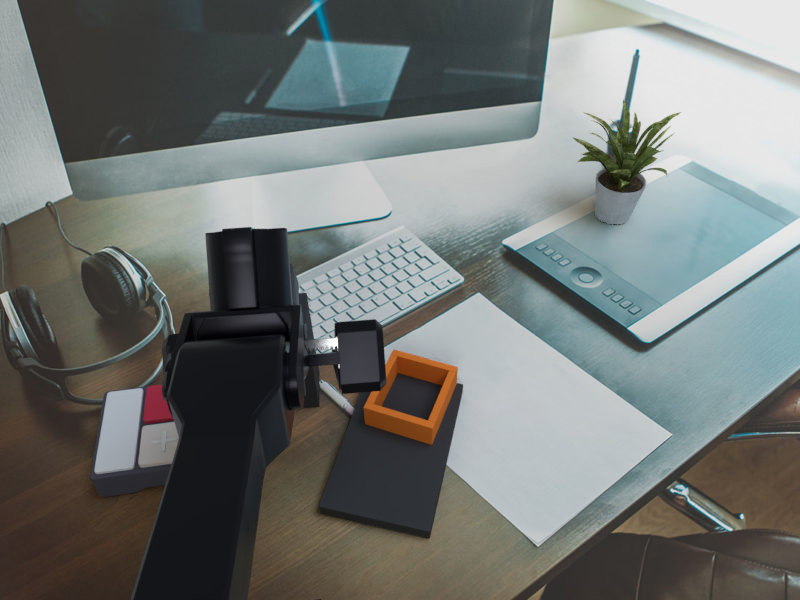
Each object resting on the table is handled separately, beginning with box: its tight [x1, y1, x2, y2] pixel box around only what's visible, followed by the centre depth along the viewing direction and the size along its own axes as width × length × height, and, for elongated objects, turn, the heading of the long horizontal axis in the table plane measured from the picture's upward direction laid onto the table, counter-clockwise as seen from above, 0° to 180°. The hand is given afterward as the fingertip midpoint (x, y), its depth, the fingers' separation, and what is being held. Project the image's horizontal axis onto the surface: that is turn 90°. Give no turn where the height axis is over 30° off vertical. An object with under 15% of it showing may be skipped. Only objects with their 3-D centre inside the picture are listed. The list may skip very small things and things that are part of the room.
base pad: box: [318, 349, 464, 539], centre depth 68 cm, size 19×11×4 cm, turn 166°
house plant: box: [572, 99, 682, 226], centre depth 93 cm, size 14×14×16 cm
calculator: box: [89, 384, 179, 498], centre depth 69 cm, size 11×4×15 cm
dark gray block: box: [299, 292, 320, 409], centre depth 70 cm, size 5×4×13 cm
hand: (288, 355), depth 65 cm, fingers open, 9 cm apart
